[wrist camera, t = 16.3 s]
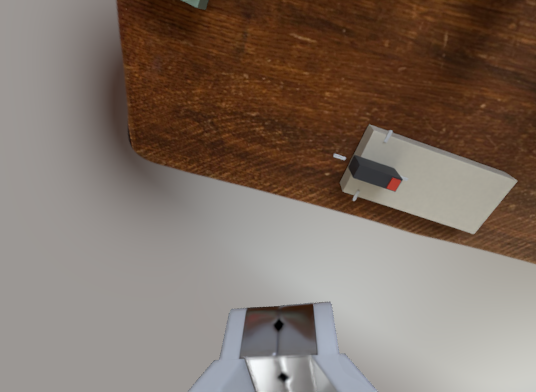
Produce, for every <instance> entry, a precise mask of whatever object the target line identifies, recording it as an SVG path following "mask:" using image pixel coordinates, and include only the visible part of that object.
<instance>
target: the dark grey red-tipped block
mask: <svg viewBox="0 0 536 392" xmlns="http://www.w3.org/2000/svg"><path fill="white" fill-rule="evenodd" d="M348 168H349V170H350V172H351V174H352V177H353V178H355V179H358V180H361V181H364V182H367V183H370V184H373V185H376V186H379V187H382V188H385V189H388V190H391V191H394V192H396V190H397V188H398V187H399V185H400V183H401V182H402V180H403V179H402V178H401V176H400V175H399V174H398V172H397V171H396V170H395V168H392V167H389V166H386V165H383V164H380V163H377V162H374V161H372V160H369V159H366V158H363V157H360V156H357V155H354V156H353V158H352V160H351V162H350V164H349V166H348Z"/></svg>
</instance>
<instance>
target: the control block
mask: <svg viewBox="0 0 536 392" xmlns="http://www.w3.org/2000/svg"><path fill="white" fill-rule="evenodd" d="M182 1H184V2H186V3H188V4H190V5H192V6H194V7H196V8H199V9H204V10H206V7H207V4H208V0H182Z"/></svg>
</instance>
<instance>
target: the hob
mask: <svg viewBox="0 0 536 392" xmlns="http://www.w3.org/2000/svg"><path fill="white" fill-rule="evenodd" d="M354 155H357V156H360V157H363V158H366V159H369V160H372V161H374V162H377V163H380V164H383V165H386V166H389V167H392V168H395V170H396V171H397V172H398V174H399V175H400V176H401V178H402V179H403V180H402V182H401V183H400V185H399V187H398V188H397V190H396V192H394V191H391V190H388V189H385V188H382V187H379V186H376V185H373V184H370V183H367V182H364V181H361V180H358V179H355V178H353V177H352V174H351V172H350V170H349V168H348V167H347V169H346V171H345V173H344V175H343V177H342V179H341V181H340V185H341V188H342V191H343V192H345V193H349V194H352V195H354V197H353V199H352V200H353V201H355V200H356V198H357V196H358V197H361V198H364V199H367V200H370V201H373V202H376V203H379V204H382V205H385V206H389V207H392V208H395V209H398V210H401V211H404V212H407V213H410V214H413V215H416V216H419V217H422V218H426V219H429V220H432V221H435V222H438V223H441V224H444V225H447V226H450V227H453V228H456V229H459V230H463V231H466V232H469V233H472V234H475V232H476V231H477V230H478V229H479V227H480V226H481V225H482V224H483V223H484V221H485V220H486V219H487V218H488V216H489V215H490V214H491V213H492V212H493V210H494V209H495V208H496V207H497V206H498V204H499V203H500V202H501V201H502V199H503V198H504V197H505V196H506V195H507V193H508V192H509V191H510V190H511V188H512V187H513V186H514V185H515V184H516V182H517V180H516V179H514V178H513V177H511V176H510V175H508V174H507V173H505V172H503V171H500V170H498V169H495V168H492V167H489V166H486V165H483V164H481V163H478V162H475V161H472V160H469V159H466V158H464V157H461V156H458V155H455V154H452V153H449V152H447V151H444V150H441V149H438V148H435V147H432V146H429V145H427V144H424V143H421V142H418V141H415V140H412V139H410V138H407V137H404V136H401V135H398V134H395V133H393V131H392V130H389V131H387V130H384V129H381V128H378V127H376V126H373V125H370V124H369V125H368V127H367V129H366V131H365V133H364V135H363V137H362V139H361V141H360V143H359V145H358V147H357V149H356V151H355V153H354ZM354 155H353V156H354ZM333 157H336V158H339V159H342V160H345V159H346V157H344V156H341V155H338V154H334V156H333ZM352 158H353V157H352ZM351 160H352V159H351ZM350 162H351V161H350ZM349 164H350V163H349ZM348 166H349V165H348Z"/></svg>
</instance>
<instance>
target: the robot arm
mask: <svg viewBox="0 0 536 392" xmlns="http://www.w3.org/2000/svg"><path fill="white" fill-rule="evenodd" d="M313 304H314V306H313ZM188 392H378V391H377V390H376V389H375V387H374V386H373V385H372V384H371V383H370V382H369V381H368V379H367V378H366V377H365V376H364V375H363V374H362V373H361V371H360V370H359V369H358V368H357V367H356V366H355V365H354V363H353V362H352V361H351V360H350V359H349V358H348V356H347V355H346V354H339V349H338V342H337V336H336V330H335V323H334V317H333V310H332V304H331V302H319V303H305V304H294V305H283V306H274V307H253V308H240V309H239V308H238V309H231V311H230V313H229V316H228V321H227V325H226V330H225V335H224V339H223V345H222V349H221V353H220V358H219V360H214V361H213V362H212V363H211V365H210V366H209V367H208V368H207V369H206V370H205V372H204V373H203V374H202V375H201V376H200V377H199V379H198V380H197V381H196V382H195V384H194V385H193V386H192V387H191V388H190V389H189V390H188Z"/></svg>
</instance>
